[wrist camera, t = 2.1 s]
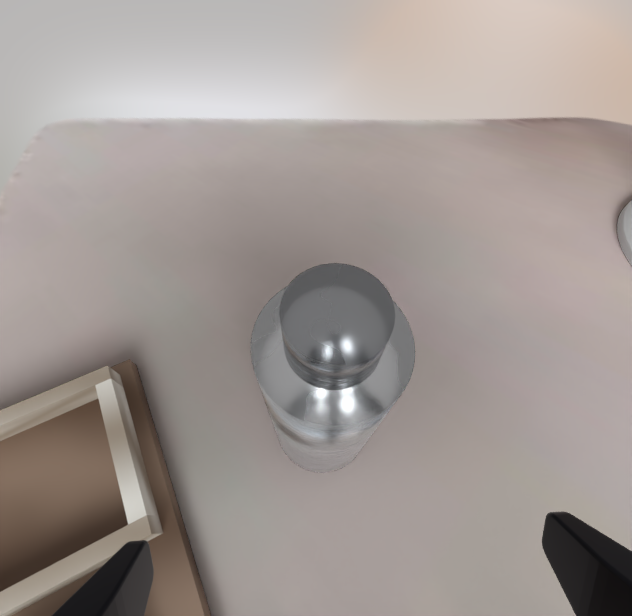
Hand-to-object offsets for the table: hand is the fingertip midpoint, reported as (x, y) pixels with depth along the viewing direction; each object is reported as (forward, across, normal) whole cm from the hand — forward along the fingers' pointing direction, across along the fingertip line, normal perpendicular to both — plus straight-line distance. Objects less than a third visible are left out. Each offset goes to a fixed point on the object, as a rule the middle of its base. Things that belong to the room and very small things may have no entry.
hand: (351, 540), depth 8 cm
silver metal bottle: (+12, 0, +5) cm, 13 cm away
